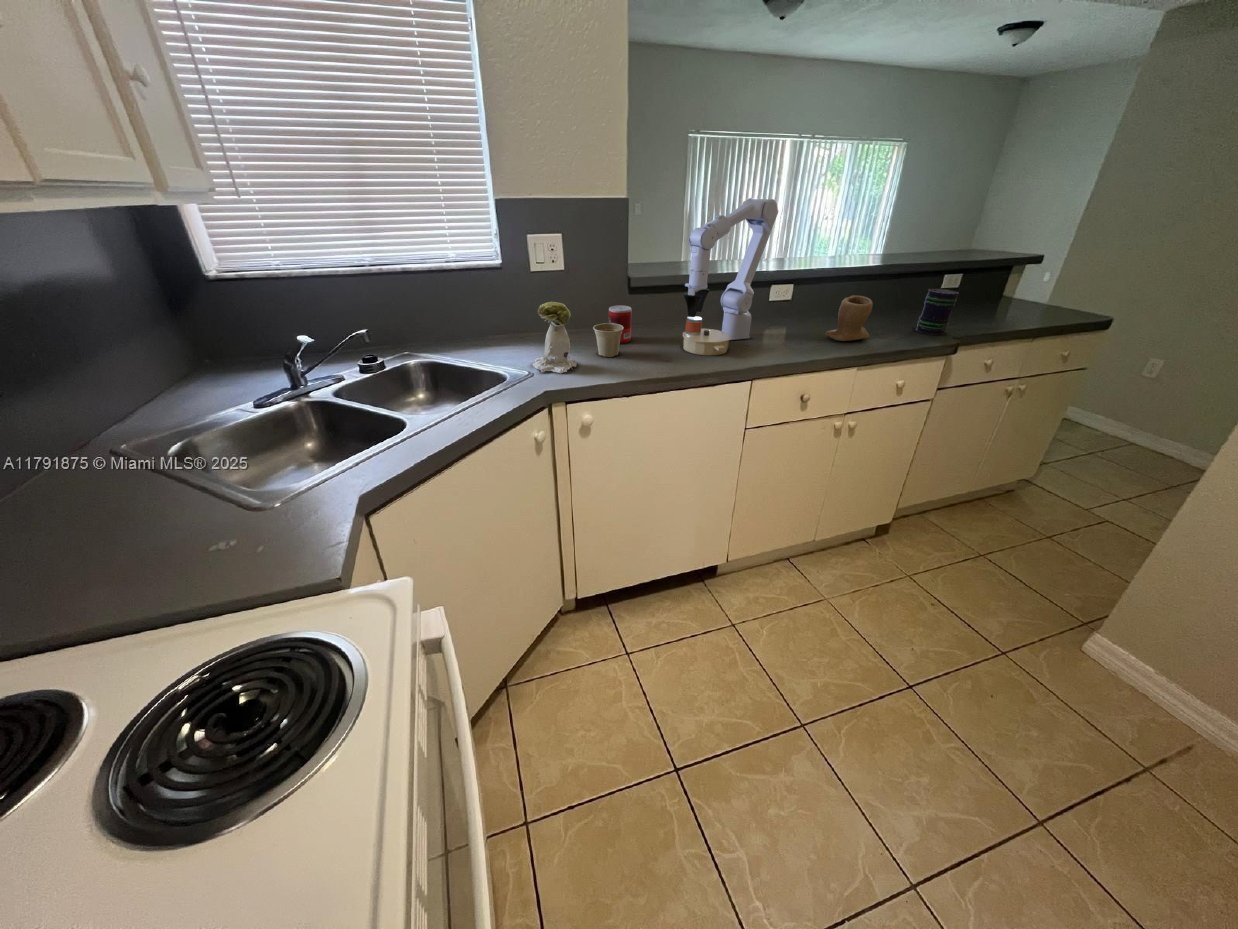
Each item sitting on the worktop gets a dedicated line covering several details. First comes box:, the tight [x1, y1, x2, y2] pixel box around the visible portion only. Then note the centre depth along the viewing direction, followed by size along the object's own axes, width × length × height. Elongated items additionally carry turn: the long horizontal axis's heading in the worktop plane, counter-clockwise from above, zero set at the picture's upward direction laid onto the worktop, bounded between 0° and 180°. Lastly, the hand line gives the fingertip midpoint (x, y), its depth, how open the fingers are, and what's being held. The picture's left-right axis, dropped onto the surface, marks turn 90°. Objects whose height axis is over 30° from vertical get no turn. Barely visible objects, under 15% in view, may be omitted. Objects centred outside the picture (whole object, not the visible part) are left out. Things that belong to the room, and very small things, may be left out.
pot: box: [682, 336, 730, 356], centre depth 161 cm, size 15×20×4 cm
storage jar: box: [915, 287, 960, 336], centre depth 182 cm, size 10×10×15 cm
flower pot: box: [592, 322, 624, 358], centre depth 152 cm, size 9×9×9 cm
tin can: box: [685, 315, 703, 335], centre depth 160 cm, size 5×5×5 cm
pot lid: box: [682, 328, 731, 344], centre depth 159 cm, size 16×16×3 cm
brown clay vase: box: [825, 295, 873, 342], centre depth 170 cm, size 15×12×15 cm
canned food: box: [608, 304, 633, 345], centre depth 165 cm, size 8×8×11 cm
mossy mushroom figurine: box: [532, 301, 578, 374], centre depth 139 cm, size 12×13×18 cm
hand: (694, 314), depth 160 cm, fingers open, 7 cm apart
